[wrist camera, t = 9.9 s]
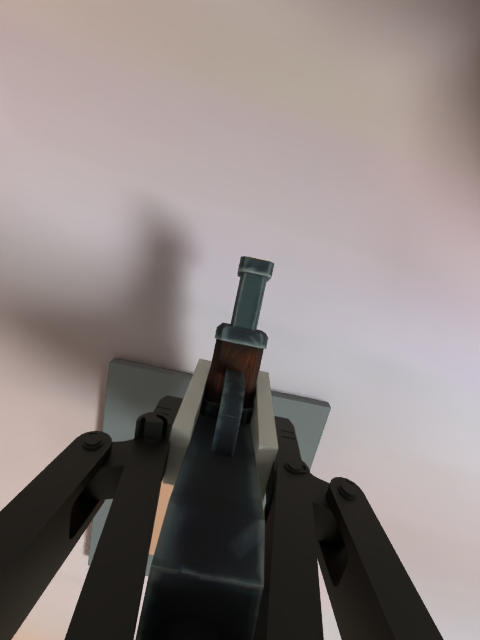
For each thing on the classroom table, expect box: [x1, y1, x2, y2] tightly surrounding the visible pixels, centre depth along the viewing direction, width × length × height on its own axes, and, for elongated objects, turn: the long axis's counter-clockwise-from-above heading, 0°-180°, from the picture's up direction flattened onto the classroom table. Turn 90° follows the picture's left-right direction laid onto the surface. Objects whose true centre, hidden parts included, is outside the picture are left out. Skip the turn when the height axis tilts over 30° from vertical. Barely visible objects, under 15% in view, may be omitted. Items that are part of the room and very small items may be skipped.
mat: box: [88, 359, 331, 576], centre depth 27 cm, size 22×18×1 cm
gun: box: [136, 256, 274, 640], centre depth 12 cm, size 3×17×15 cm
